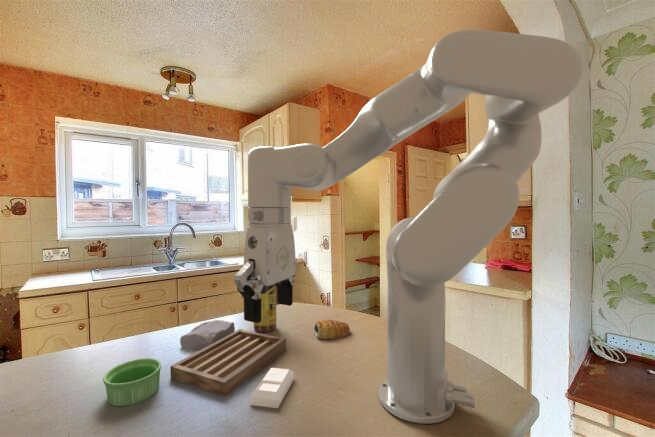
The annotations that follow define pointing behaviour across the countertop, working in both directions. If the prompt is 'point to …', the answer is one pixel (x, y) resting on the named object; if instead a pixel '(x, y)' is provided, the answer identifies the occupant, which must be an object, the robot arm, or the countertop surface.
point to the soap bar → (272, 388)
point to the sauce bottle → (267, 309)
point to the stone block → (206, 334)
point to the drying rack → (228, 361)
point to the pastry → (330, 329)
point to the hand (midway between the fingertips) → (269, 312)
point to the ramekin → (132, 381)
